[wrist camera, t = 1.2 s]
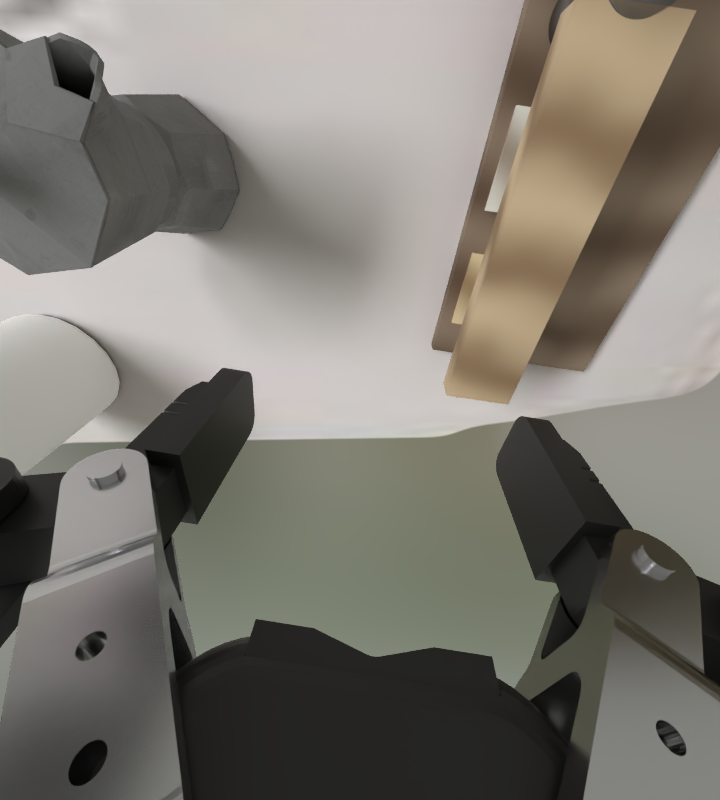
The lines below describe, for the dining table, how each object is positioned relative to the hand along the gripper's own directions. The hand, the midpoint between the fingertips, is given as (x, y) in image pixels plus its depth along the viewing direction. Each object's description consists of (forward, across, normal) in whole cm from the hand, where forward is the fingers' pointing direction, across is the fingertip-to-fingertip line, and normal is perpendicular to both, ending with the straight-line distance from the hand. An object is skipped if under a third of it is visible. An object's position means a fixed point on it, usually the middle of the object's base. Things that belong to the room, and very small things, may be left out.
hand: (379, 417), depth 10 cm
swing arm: (+16, -9, -5) cm, 19 cm away
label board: (+23, -13, -5) cm, 27 cm away
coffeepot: (+23, +18, -4) cm, 30 cm away
